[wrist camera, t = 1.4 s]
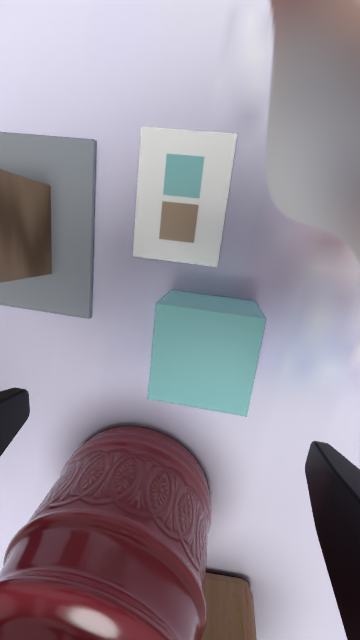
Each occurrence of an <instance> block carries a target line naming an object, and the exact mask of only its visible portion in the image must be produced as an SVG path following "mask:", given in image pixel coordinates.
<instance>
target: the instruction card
mask: <svg viewBox="0 0 360 640" xmlns="http://www.w3.org/2000/svg"><path fill="white" fill-rule="evenodd" d="M236 139H237V134H236V133H223V132H209V131H196V130H182V129H169V128H155V127H141V135H140V151H139V166H138V181H137V196H136V212H135V227H134V242H133V256H134V257H141V258H149V259H157V260H165V261H173V262H180V263H188V264H196V265H204V266H211V267H217V266H218V260H219V253H220V246H221V240H222V233H223V226H224V220H225V213H226V206H227V200H228V193H229V186H230V179H231V173H232V166H233V159H234V153H235V146H236Z"/></svg>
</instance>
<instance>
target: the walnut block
mask: <svg viewBox="0 0 360 640" xmlns="http://www.w3.org/2000/svg"><path fill="white" fill-rule="evenodd" d="M48 274H52V252H51V186H49V185H46V184H43V183H40V182H37V181H35V180H32V179H29V178H26V177H23V176H20V175H17V174H14V173H11V172H8V171H5V170H2V169H0V283H2V282H7V281H13V280H19V279H25V278H31V277H37V276H43V275H48Z"/></svg>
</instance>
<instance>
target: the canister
mask: <svg viewBox="0 0 360 640" xmlns="http://www.w3.org/2000/svg"><path fill="white" fill-rule="evenodd" d="M210 524H211V500H210V494H209V490H208V484H207V480H206V477H205V474H204V472H203V470H202V468H201V466H200V465H199V463H198V462H197V460H196V459H195V458H194V456H193V455H192V454H191V453H190V452H189V451H188V450H187V449H186V448H185V447H183V446H182V445H181V444H180V443H178V442H177V441H175V440H174V439H172V438H170V437H168V436H166V435H164V434H162V433H160V432H157V431H154V430H151V429H147V428H142V427H131V426H125V427H116V428H111V429H108V430H105V431H102V432H100V433H98V434H96V435H95V436H93V437H92V438H90V439H89V440H88V441H87V442H86V443H85V444H84V445H82V446H81V447H80V448H79V449H78V450H77V451H76V452H75V453H74V454H73V455H72V457H71V458H70V460H69V461H68V462H67V463H66V465H65V466H64V468H63V470H62V472H61V475H60V477H59V479H58V480H57V482H56V483H55V484H54V486H53V487H52V489H51V490H50V492H49V493H48V494H47V496H46V497H45V499H44V500H43V501H42V503H41V504H40V506H39V507H38V509H37V510H36V511H35V513H34V514H33V516H32V517H31V519H30V520H29V521H28V523H27V524H26V525H25V526H24V527H22V528H21V529H20V530H19V531H18V532H17V533H16V535H15V536H14V537H13V539H12V540H11V542H10V544H9V546H8V548H7V550H6V553H5V557H4V564H3V568H2V570H1V572H0V640H201V638H202V636H203V633H204V630H205V626H206V619H207V608H206V601H205V597H204V593H205V574H206V556H207V537H208V533H209V529H210Z"/></svg>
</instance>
